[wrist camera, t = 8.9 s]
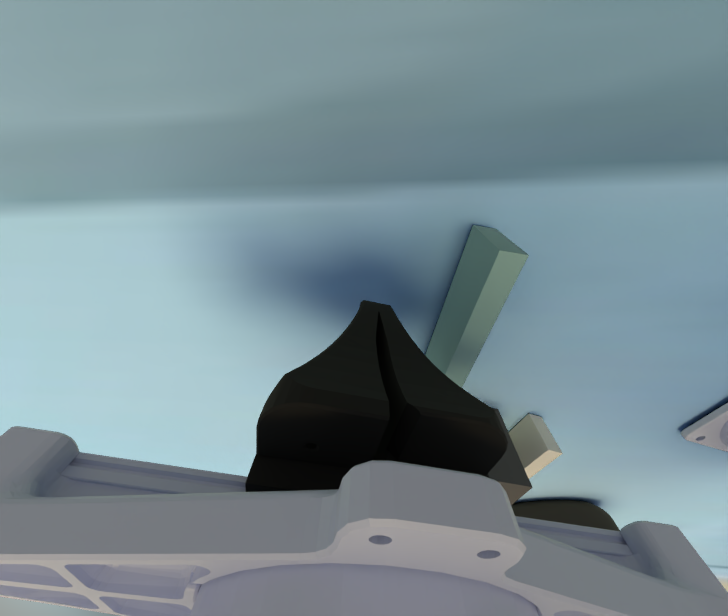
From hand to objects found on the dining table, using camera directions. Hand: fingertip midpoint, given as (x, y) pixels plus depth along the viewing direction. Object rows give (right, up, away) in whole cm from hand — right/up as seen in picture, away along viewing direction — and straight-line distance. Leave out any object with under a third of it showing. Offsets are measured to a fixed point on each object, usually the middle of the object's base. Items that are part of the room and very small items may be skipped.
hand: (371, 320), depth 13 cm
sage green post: (+4, 0, +2) cm, 4 cm away
